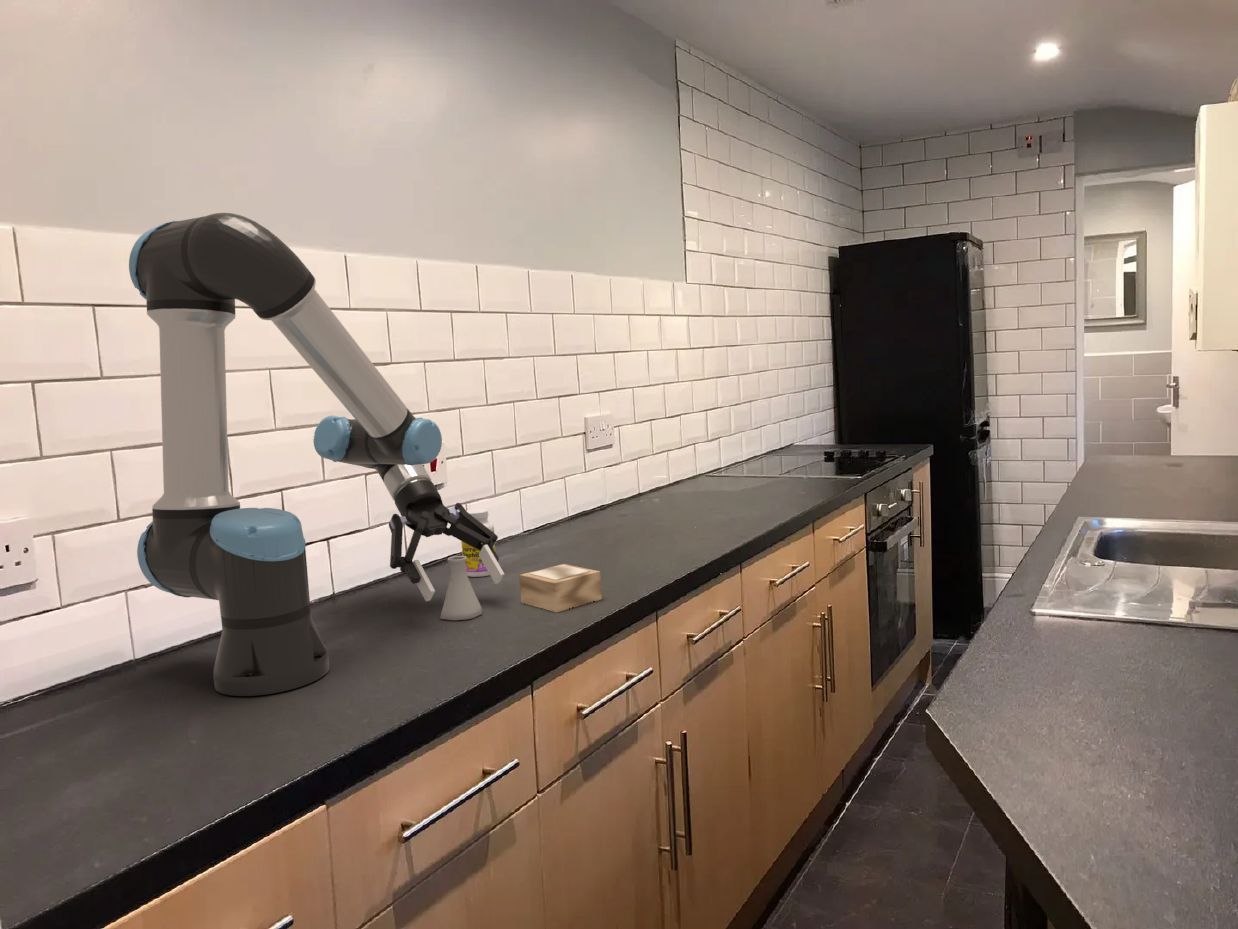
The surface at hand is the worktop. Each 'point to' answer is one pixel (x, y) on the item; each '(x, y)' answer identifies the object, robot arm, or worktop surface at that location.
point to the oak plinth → (560, 587)
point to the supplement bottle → (472, 554)
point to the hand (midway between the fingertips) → (466, 587)
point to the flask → (460, 593)
